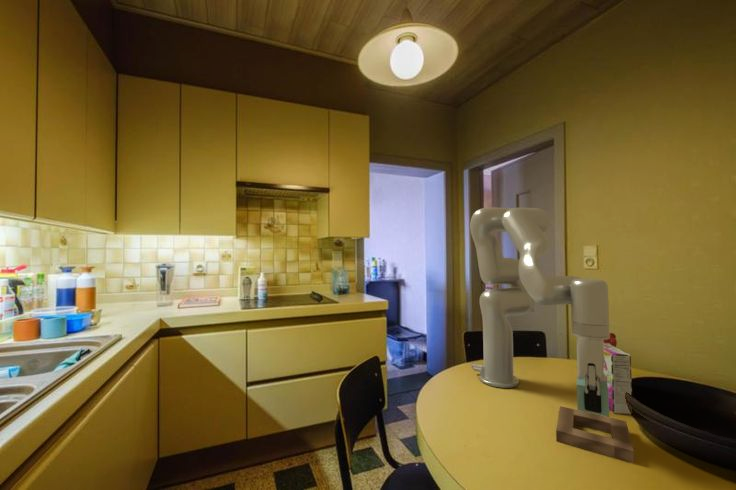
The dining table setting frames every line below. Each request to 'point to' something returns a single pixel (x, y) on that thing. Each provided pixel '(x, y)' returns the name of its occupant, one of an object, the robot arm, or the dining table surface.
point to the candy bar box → (617, 377)
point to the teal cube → (603, 393)
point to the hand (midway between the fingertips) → (592, 404)
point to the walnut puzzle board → (604, 445)
